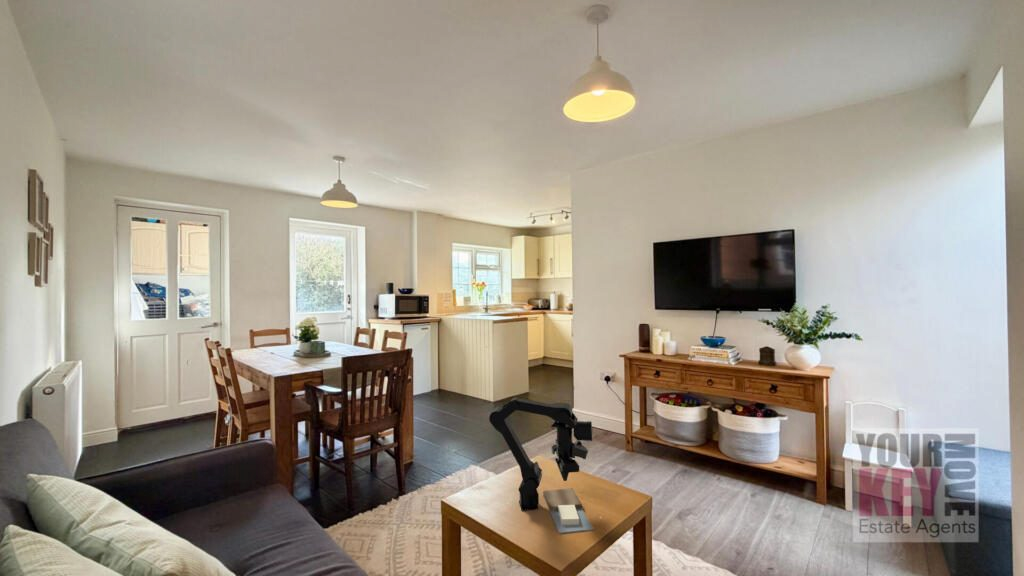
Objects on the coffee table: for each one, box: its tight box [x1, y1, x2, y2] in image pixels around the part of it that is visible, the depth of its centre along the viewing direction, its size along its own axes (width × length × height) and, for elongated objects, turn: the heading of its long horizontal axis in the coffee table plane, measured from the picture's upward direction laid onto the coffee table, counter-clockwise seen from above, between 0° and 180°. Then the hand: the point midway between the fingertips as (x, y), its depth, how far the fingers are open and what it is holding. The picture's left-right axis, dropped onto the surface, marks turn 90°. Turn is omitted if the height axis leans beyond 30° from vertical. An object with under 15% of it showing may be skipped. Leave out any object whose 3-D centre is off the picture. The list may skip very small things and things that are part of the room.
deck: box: [542, 487, 583, 512], centre depth 161 cm, size 12×12×2 cm
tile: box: [558, 505, 579, 525], centre depth 150 cm, size 6×9×2 cm, turn 2°
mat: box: [549, 508, 594, 535], centre depth 148 cm, size 12×13×1 cm
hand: (564, 480), depth 155 cm, fingers closed
